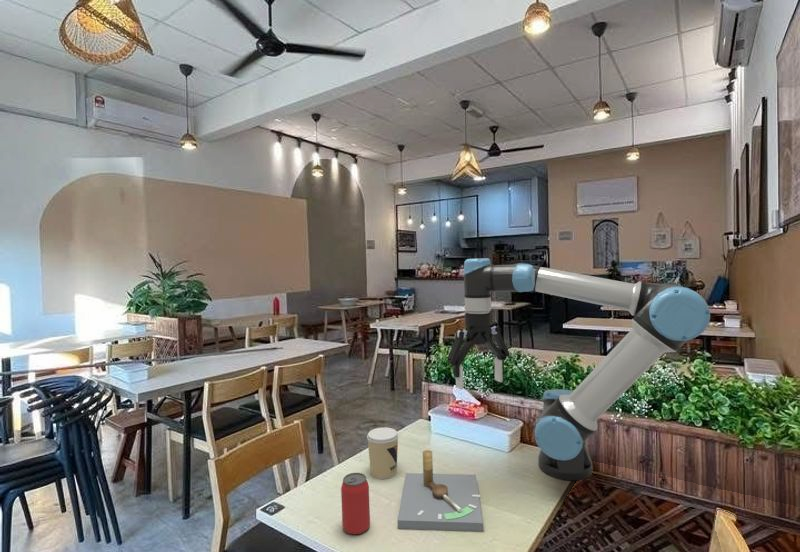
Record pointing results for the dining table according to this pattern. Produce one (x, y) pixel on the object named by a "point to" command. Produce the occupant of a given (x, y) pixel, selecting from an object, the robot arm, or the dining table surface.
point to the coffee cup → (383, 452)
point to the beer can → (355, 503)
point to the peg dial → (438, 489)
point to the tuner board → (440, 504)
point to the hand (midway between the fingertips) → (479, 384)
